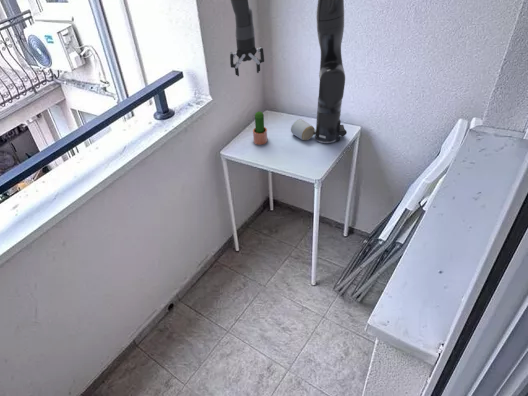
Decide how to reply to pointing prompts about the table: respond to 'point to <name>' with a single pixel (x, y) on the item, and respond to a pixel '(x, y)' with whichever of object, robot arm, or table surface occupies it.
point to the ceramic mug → (302, 129)
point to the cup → (260, 137)
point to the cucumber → (259, 122)
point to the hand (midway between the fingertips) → (247, 73)
